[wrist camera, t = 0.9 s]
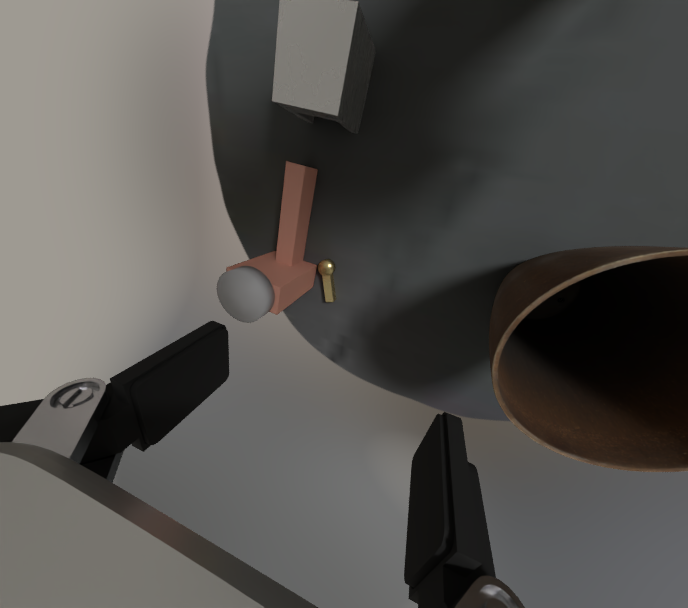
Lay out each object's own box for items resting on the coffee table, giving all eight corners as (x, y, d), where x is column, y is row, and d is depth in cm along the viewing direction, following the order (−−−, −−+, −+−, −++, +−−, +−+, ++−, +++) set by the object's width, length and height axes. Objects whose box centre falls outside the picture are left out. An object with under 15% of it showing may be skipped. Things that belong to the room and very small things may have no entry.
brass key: (320, 259, 35) (316, 261, 34) (334, 258, 34) (331, 260, 33) (325, 298, 37) (322, 301, 36) (339, 299, 36) (336, 302, 35)
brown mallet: (284, 160, 31) (210, 141, 20) (334, 174, 30) (283, 161, 19) (271, 279, 39) (213, 310, 28) (311, 294, 37) (265, 331, 27)
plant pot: (456, 337, 33) (476, 440, 19) (473, 222, 27) (519, 249, 13) (595, 352, 28) (754, 500, 15) (650, 218, 23) (1001, 251, 9)
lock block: (316, 41, 25) (280, -9, 19) (376, 51, 24) (358, 1, 18) (305, 121, 29) (272, 101, 22) (358, 133, 27) (337, 115, 21)
